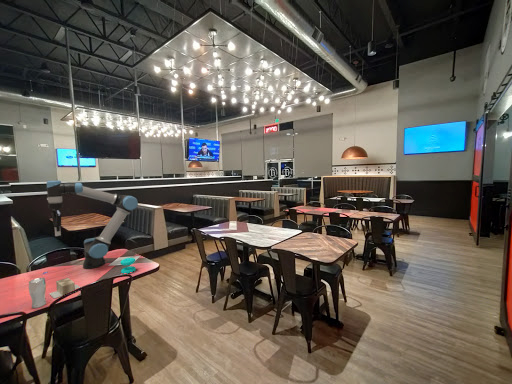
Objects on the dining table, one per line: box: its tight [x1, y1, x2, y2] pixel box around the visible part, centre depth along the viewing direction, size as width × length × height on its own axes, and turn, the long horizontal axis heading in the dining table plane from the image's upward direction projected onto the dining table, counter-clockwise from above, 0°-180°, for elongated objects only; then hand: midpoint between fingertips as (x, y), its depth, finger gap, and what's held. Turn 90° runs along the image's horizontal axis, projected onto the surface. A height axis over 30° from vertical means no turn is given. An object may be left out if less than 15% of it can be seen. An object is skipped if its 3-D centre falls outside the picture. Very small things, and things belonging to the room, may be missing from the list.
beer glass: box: [28, 277, 47, 309], centre depth 127 cm, size 7×7×15 cm
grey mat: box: [48, 284, 81, 299], centre depth 143 cm, size 14×10×1 cm
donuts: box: [120, 257, 137, 275], centre depth 171 cm, size 10×10×10 cm
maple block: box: [55, 277, 76, 296], centre depth 143 cm, size 6×6×12 cm
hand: (58, 235), depth 157 cm, fingers closed
